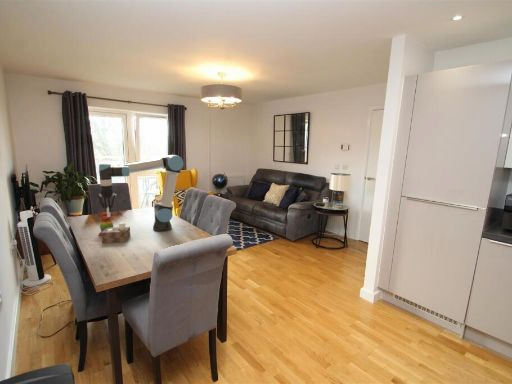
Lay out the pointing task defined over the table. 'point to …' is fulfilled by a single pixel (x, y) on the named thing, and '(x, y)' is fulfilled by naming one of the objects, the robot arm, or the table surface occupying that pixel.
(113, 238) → the brown woven basket
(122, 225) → the peg
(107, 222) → the stacking bear
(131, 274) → the table surface
